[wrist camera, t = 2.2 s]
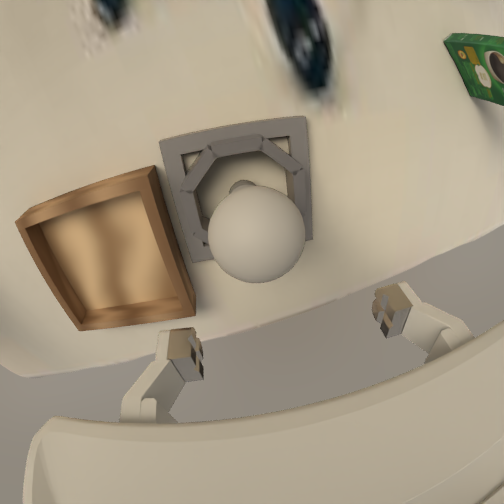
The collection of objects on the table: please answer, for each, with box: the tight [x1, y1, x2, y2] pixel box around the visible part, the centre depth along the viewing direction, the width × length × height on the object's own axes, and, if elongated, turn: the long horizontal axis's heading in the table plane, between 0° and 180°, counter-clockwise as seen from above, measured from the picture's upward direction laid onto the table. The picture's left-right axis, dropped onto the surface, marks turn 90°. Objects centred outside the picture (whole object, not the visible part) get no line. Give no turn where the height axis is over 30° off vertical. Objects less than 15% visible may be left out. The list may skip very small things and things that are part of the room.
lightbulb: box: [208, 180, 305, 283], centre depth 19 cm, size 6×6×11 cm
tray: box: [15, 165, 196, 331], centre depth 24 cm, size 15×15×3 cm
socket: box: [159, 116, 313, 263], centre depth 23 cm, size 12×12×2 cm
